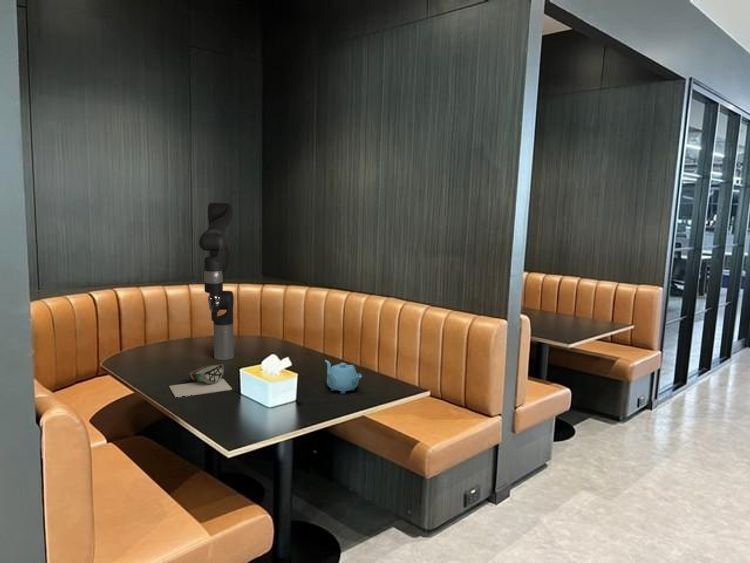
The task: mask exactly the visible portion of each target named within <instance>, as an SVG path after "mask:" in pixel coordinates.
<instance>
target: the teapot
mask: <svg viewBox="0 0 750 563" xmlns="http://www.w3.org/2000/svg"><path fill="white" fill-rule="evenodd" d="M324 362H325V363H326V366H327V368H326V372H327V374H326V375H327V376H326V384H327V386H328V387H329V388H330V391H333V392H335V391H340V392H339V393H340V394H341V395H346V392H348V391H355V389H356V388H357V387H358V385H359V380H360V379H361V378H362V377H363V375H362V374H361V373H360V372H359V373H357V371H356V367H355V365H354V364H347V363H345V362H339V363H338V364H335V365H332V364H331V362H330V361H329V360H327V359H324Z"/></svg>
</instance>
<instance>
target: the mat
mask: <svg viewBox="0 0 750 563" xmlns="http://www.w3.org/2000/svg"><path fill="white" fill-rule="evenodd" d="M168 387H169V389H170V391H171V393H172V394H173V396H174V398H176V397H178V398H183V397H182V396H185V397H190V396H191V395H192V396H196V395H204V394H212V393H218V392H224V391H231V390H233V388H232V387H231V385H229V383H228V382H227V381H226V380H225V379H224V378H221V379H220V380H219V381H218V382H216V383H213V384H207V383H205V382H195V381H194V382H189V383H187V382H186V383H182V384H173V385H169V386H168Z"/></svg>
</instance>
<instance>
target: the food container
mask: <svg viewBox="0 0 750 563" xmlns="http://www.w3.org/2000/svg"><path fill="white" fill-rule="evenodd" d="M224 371H225V367H224V364H221V363H220V364H213V365H205V366H204V365H203V367H200V368H198V369H196V370H193V371H191V372H189V373H188V377H189V378H190V379H191V380H192V381H193V382H194V383H195V382H205V383H207V384H213V383H216V382H218V381H219V380H220V379H222V377H223V375H224Z"/></svg>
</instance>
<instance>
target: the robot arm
mask: <svg viewBox="0 0 750 563" xmlns="http://www.w3.org/2000/svg"><path fill="white" fill-rule="evenodd" d="M233 213H234V212H233V206H232V204H230V203H227V202H209V203H208V205H207V221H208V227H207V230H205V231H204V232H203V233H202V234H201V235H200V237H199V240H198V244H199V245H198V246H199V247H200V250H203V251H206V252H209V256H206V257H205V258H204V260H203V261H204V273H203V274H204V276H203V278H204V279H203V280H204V283H203V286H204V292H205V293H206V294H209V295H208V296H207V300H208V305H209V306H208V308H209V310H210V314H211V315H210V318H211V319H210V320H211V321H212V322H213V347H214V348H213V353H214V354H213V356H214V359H215V360H217V361H228V360H232V359H234V358H235V354H234V352H235V350H234V348H235V347H234V343H235V342H234V337H235V336H234V304H235V303H234V302H235V301H234V299H235V298H234V296H235V295H234V292H233V291H232V290H224V283H223V281H224V280H223V276H224V275H225V274H226V271H227V270H228V268H229V267H230V263H231V261H230V260H231V258H230V257H231V256H230V248H229V246H228V245H227V242H226V240H227V239H226V237H225V236H224V235H225V231H226V229H227V228H228V226H229V225H230V223H231V222H232V220H233ZM220 311H225V312H224V313H223V314H221V315H218V312H220Z"/></svg>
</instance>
